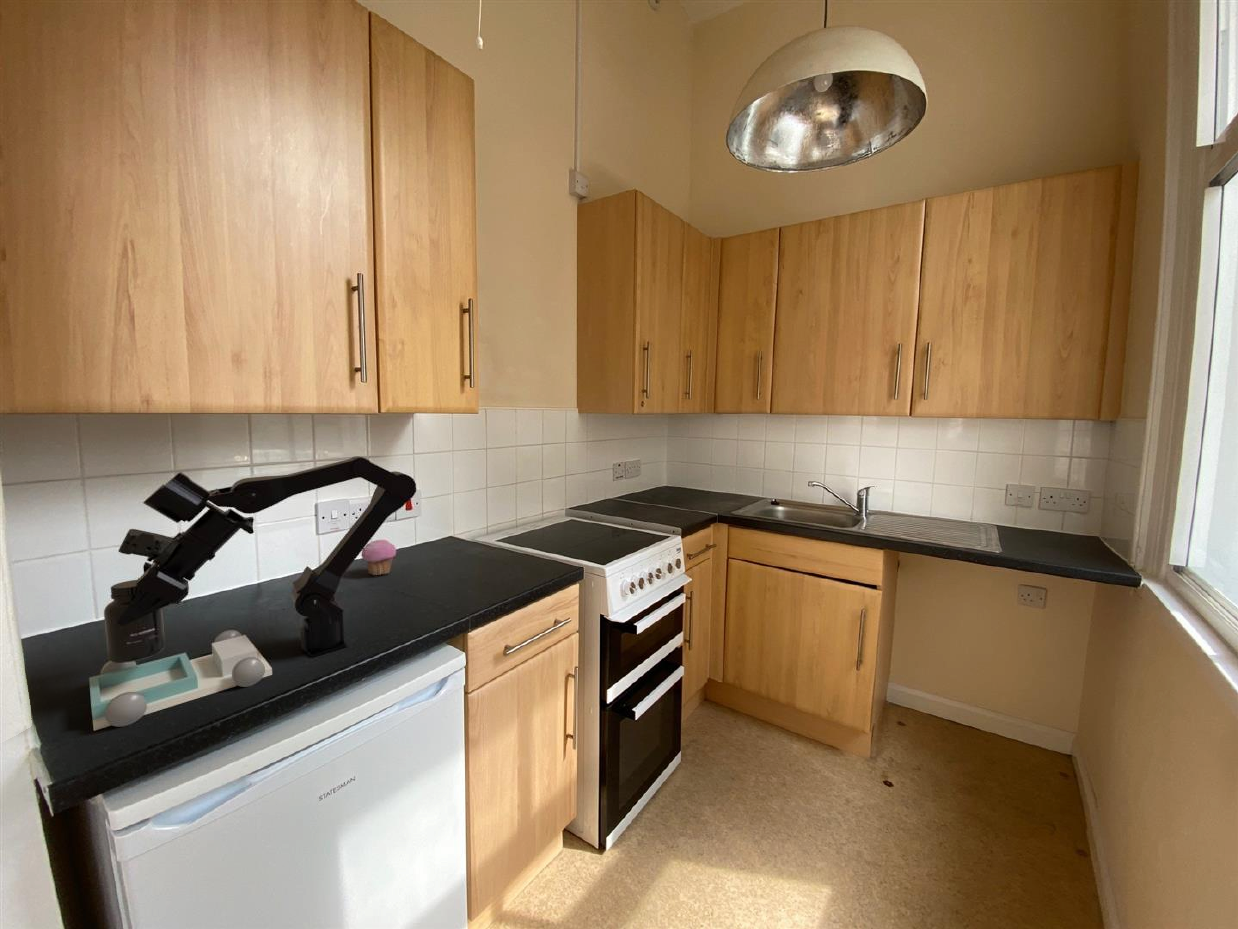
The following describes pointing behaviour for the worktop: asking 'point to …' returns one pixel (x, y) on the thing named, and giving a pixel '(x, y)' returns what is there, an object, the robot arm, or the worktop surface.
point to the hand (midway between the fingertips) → (122, 617)
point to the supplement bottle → (131, 628)
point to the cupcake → (379, 556)
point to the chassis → (173, 680)
